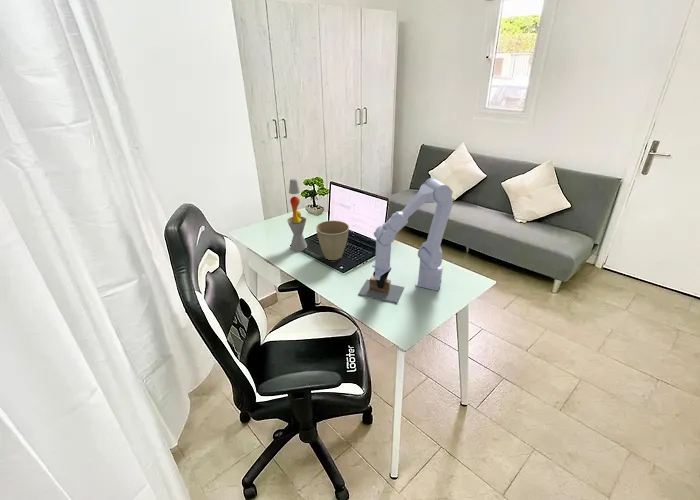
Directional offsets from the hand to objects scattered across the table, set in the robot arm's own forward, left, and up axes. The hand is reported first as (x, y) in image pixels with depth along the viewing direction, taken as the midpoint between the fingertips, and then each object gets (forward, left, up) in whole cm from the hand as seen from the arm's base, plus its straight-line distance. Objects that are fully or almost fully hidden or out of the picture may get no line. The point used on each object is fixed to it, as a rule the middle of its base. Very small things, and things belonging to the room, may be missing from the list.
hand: (381, 285), depth 143 cm
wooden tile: (+1, 0, -2) cm, 2 cm away
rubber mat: (0, 0, -3) cm, 3 cm away
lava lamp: (+49, -22, -3) cm, 54 cm away
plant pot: (+29, -19, -3) cm, 35 cm away
